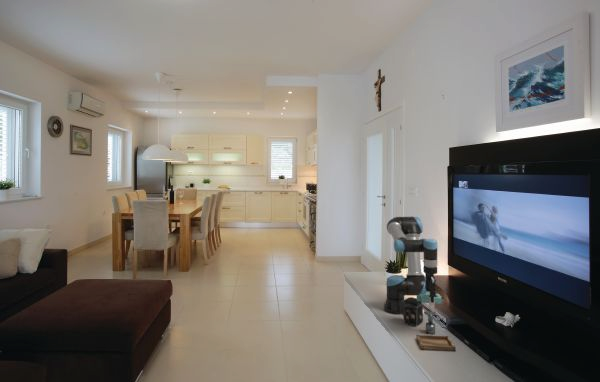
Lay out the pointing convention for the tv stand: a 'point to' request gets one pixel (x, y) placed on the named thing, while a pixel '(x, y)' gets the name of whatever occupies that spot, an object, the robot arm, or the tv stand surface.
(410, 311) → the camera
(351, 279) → the tv stand surface
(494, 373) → the tv stand surface
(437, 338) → the tray
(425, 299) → the teal rectangular frame
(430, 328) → the mallet
